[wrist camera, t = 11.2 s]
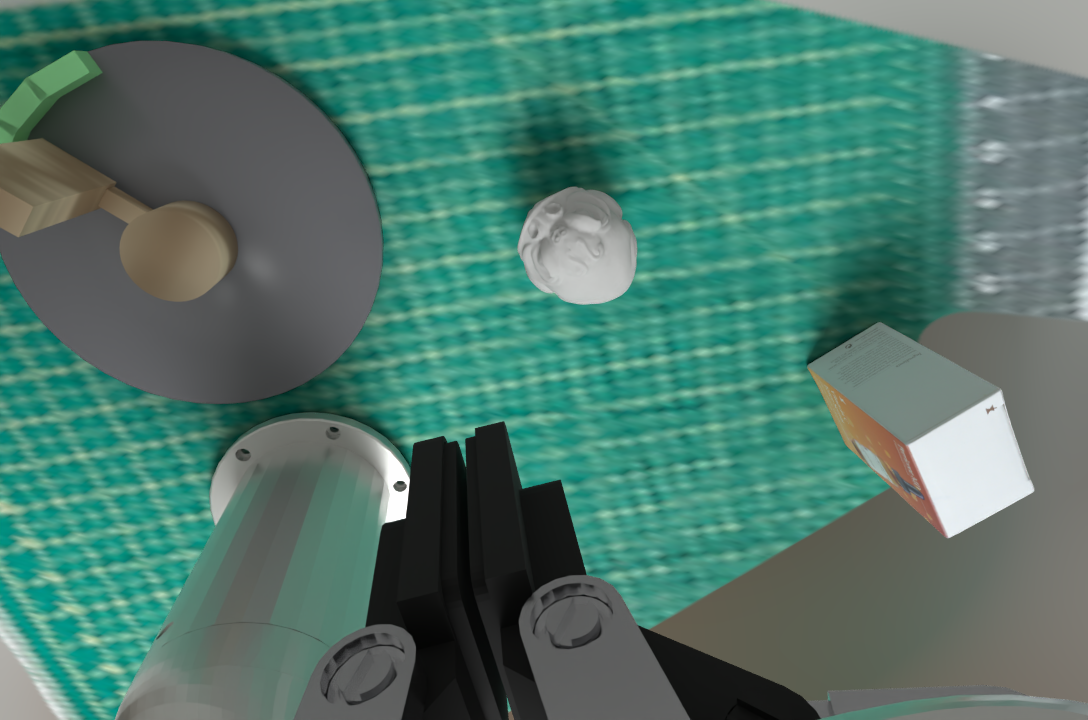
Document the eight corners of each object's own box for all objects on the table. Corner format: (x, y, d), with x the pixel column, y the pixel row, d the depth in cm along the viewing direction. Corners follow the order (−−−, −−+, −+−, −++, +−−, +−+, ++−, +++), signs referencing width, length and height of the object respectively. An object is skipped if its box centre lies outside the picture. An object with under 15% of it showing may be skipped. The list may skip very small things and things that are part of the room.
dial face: (344, 425, 41) (338, 445, 38) (-2, 350, 36) (-32, 367, 34) (420, 117, 34) (418, 119, 32) (12, -21, 30) (-23, -29, 28)
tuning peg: (253, 233, 34) (207, 267, 28) (213, 299, 35) (160, 348, 29) (55, 112, 31) (-50, 119, 24) (17, 189, 32) (-92, 216, 25)
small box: (803, 363, 43) (904, 443, 34) (879, 318, 43) (1003, 386, 33) (845, 448, 46) (947, 543, 37) (916, 407, 46) (1039, 493, 36)
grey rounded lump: (557, 149, 36) (580, 163, 30) (644, 231, 38) (682, 261, 32) (486, 233, 37) (493, 264, 31) (575, 307, 40) (598, 350, 33)
